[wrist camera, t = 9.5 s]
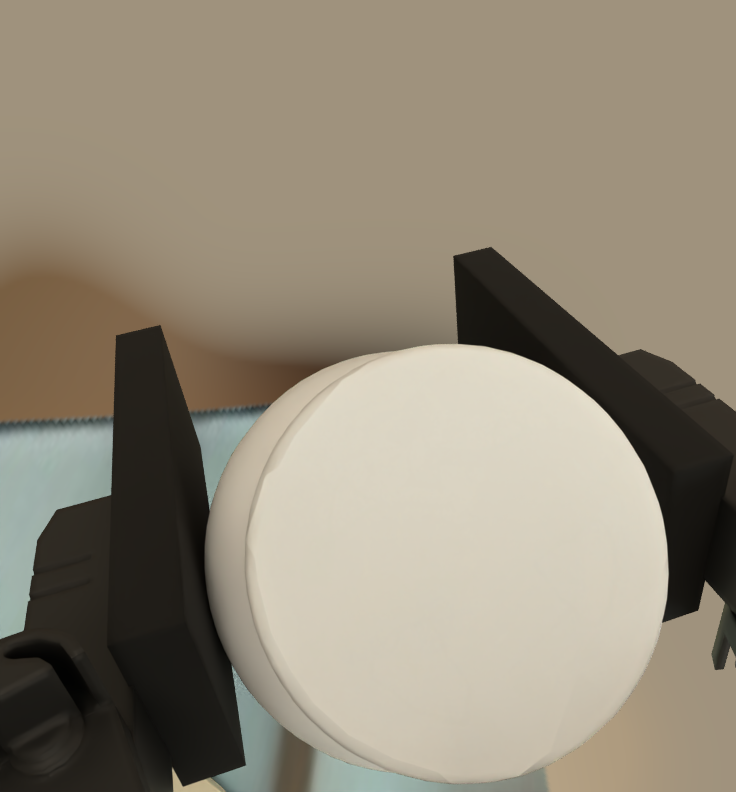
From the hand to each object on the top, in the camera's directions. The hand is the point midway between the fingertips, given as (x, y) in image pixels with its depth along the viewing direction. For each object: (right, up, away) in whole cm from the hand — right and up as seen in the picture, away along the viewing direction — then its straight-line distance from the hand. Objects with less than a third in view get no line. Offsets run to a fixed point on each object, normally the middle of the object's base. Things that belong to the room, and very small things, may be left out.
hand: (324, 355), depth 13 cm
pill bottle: (+1, -4, +3) cm, 5 cm away
